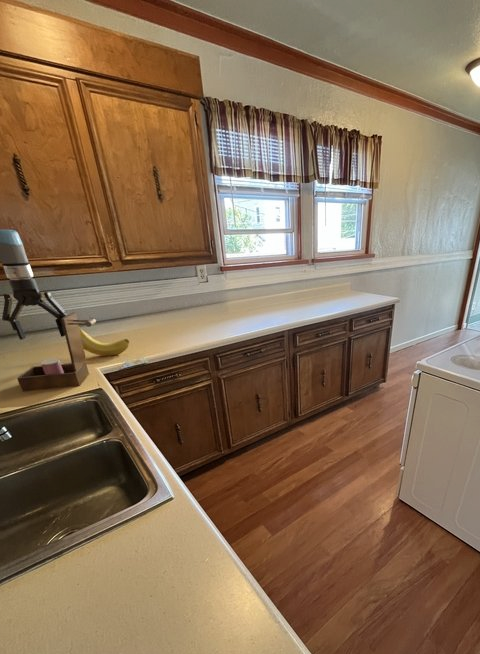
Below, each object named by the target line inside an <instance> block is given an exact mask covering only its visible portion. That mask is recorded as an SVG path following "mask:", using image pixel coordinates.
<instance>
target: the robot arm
mask: <svg viewBox="0 0 480 654" xmlns="http://www.w3.org/2000/svg"><path fill="white" fill-rule="evenodd" d="M0 263H1V265H2V268H3V270H4V273H5V275H6V278H7V279H9V280H8V284H9V286H10V289H11V291H12V292H13V293H10V292H8V293H7V292H6V293H4V294H3V299H4V303H3V310H2V316H1V320H2V321H3V322H9V323H10V325H11V327H12V328H11V329H12V330H13V331H16V333H17V336H18V339H19V340H24V339H26V334H25V331H24V330H23V327H22V325H21V322H20V320H18V317H19V316H20V314H21V311H22V309H23V308H24V307H30V306H32V307H33V306H34V307H35V306H38V307H40V308H42V309H43V310H45V311H46V312H47V313H49V314H50V315H52V316H53V317H54V318H55V319H54V320H55V323H56V327H57V329H58V331H59V335H60V337H61V338H63V337H66V336H65V332H64V328H63V324H62V320H61V319H63V318H64V317H66V316H68V315H69V314H68V312H66V310H64V308H63V307H62V306H61V305H60V303H58V301H56V299H55V298H54V297H53V295H52V294H51V291H49V290H47V291H44V292H41V291H40V290H39V287H38V284H37V281H36V278H33V277H34V276H35V275H34V272H33V270H32V267H31V265H30V261H29V260H28V256H27V252H26V250H25V247H24V243H23V242H22V239H21V237H20V234H19V232H18V231H16V230H15V229H0ZM42 298H44V299H46V301H47V302H48V303H49V304H50V305H51V306H50V305H49V304H48V303H46V301H44V300H43V299H42ZM14 299H15V300H17V302H16V304H15V307H14V309H13V310H12V308H13V307H12V305H13V300H14Z"/></svg>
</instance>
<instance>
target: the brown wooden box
mask: <svg viewBox="0 0 480 654" xmlns="http://www.w3.org/2000/svg"><path fill="white" fill-rule="evenodd" d="M86 362H87V361H86ZM86 362H85V363H84V364H83V365H82V366H81V367H80V368H79V369H78V370H77V371H76V372H74V370H73V366H72V362H71V363H61V366H62V369H63V372H64V373H63V374H52V375H45V372H44V370H43V367H42V365H37V366H31V367H29V368H28V369H27V370H26V371H25V372H23V373H22V374H20V375H19V376H18V377H16V379H17V382H18V384H19V386H20V389H21V391H22V392H32V391H33V392H34V391H42V390H43V391H44V390H54V389H64V388H65V389H66V388H74V387H81V386H82V384H83V383H84V381H86V379H87V378H88V377H89V376H90V371H89V369H88V366H87V363H86Z"/></svg>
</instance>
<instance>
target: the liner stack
mask: <svg viewBox="0 0 480 654" xmlns="http://www.w3.org/2000/svg"><path fill="white" fill-rule="evenodd" d="M61 364H62V363H61V359H59V358H49V359H45V360H42V361H41V362H40V366H42V367H43V370H44V372H45V375H52V374H63V373H64V372H63V369H62V366H61Z"/></svg>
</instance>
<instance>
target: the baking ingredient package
mask: <svg viewBox="0 0 480 654" xmlns="http://www.w3.org/2000/svg"><path fill="white" fill-rule="evenodd" d="M123 363H124V364H123ZM147 363H149V360H147V359H145V358H144V357H139V358H134V359H131V360H126V361H122V362H120V364H122V365H121V367H119V370H122V369H126V368H130V367H134V366H139V365H143V364H147Z"/></svg>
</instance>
